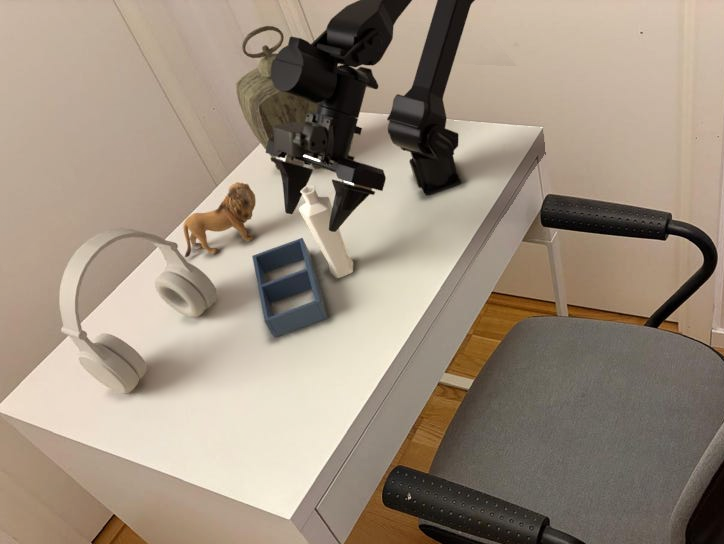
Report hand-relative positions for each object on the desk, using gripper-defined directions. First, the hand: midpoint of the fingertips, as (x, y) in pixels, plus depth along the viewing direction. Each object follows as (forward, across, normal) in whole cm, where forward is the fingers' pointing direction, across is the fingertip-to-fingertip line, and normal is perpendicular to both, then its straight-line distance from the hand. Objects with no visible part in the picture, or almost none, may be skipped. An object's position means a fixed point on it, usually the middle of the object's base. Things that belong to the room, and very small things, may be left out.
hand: (309, 222), depth 105 cm
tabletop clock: (-7, -26, +22) cm, 34 cm away
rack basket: (+12, -3, +3) cm, 12 cm away
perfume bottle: (+6, 0, +9) cm, 11 cm away
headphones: (+24, -14, -9) cm, 29 cm away
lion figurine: (+9, -24, +6) cm, 26 cm away
